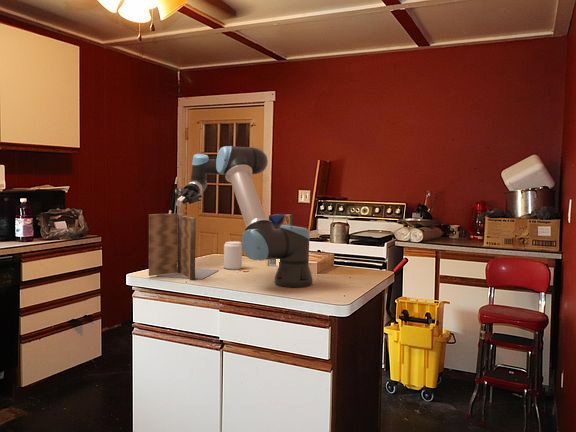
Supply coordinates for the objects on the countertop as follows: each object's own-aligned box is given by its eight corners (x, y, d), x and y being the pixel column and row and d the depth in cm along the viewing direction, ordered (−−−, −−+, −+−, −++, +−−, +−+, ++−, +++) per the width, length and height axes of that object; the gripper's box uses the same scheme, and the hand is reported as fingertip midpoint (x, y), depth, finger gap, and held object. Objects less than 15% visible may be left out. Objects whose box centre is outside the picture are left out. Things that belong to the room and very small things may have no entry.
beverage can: (220, 268, 238) (220, 242, 237) (234, 266, 243) (235, 240, 242) (230, 270, 232) (231, 244, 231) (245, 268, 237) (245, 242, 236)
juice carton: (282, 267, 244) (283, 216, 242) (267, 265, 247) (268, 215, 245) (291, 263, 255) (292, 214, 254) (277, 261, 258) (278, 213, 256)
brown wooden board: (175, 272, 221) (176, 213, 219) (177, 272, 220) (177, 213, 218) (148, 275, 213) (148, 214, 211) (149, 275, 211) (150, 214, 210)
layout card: (218, 270, 230) (218, 269, 230) (202, 279, 211) (202, 278, 211) (176, 268, 234) (176, 267, 234) (156, 276, 215) (156, 275, 215)
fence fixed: (176, 273, 222) (176, 212, 220) (181, 273, 223) (182, 212, 221) (190, 280, 209) (191, 215, 207) (196, 279, 210) (197, 215, 208)
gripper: (204, 202, 248) (191, 215, 225) (177, 193, 248) (161, 206, 225) (207, 187, 246) (195, 199, 223) (180, 178, 246) (165, 190, 223)
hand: (178, 203), depth 224 cm, fingers closed
